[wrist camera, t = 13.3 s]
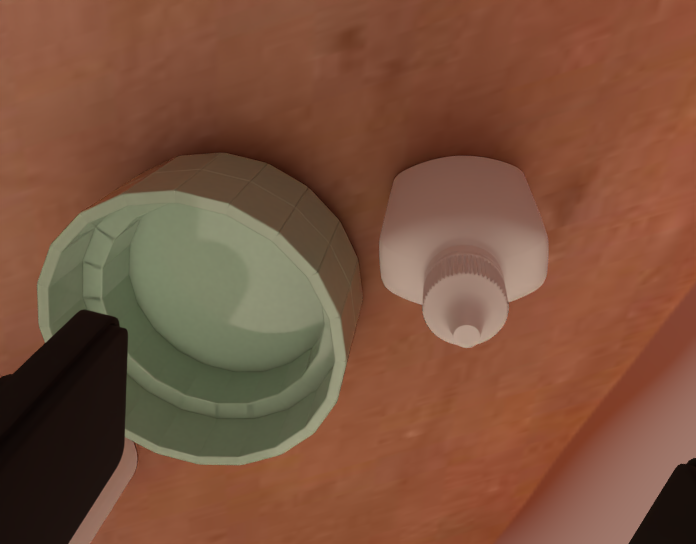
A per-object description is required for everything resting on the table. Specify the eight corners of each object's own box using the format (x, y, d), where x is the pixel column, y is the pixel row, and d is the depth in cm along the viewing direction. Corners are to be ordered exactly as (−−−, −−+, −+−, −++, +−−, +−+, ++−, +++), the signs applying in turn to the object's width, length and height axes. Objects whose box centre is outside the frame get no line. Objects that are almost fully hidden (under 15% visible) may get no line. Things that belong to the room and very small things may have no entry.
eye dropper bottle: (489, 259, 28) (518, 435, 17) (378, 207, 27) (337, 354, 17) (541, 176, 26) (610, 317, 15) (422, 119, 25) (407, 221, 15)
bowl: (111, 120, 27) (30, 155, 22) (390, 187, 27) (376, 239, 22) (106, 352, 33) (42, 424, 28) (335, 411, 33) (314, 495, 27)
